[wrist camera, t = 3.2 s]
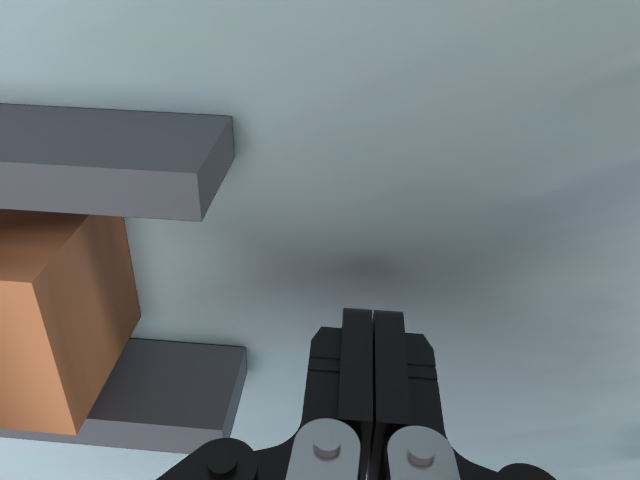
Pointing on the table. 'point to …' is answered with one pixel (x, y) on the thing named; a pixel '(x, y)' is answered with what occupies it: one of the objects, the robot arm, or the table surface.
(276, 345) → the table surface
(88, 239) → the terracotta block
